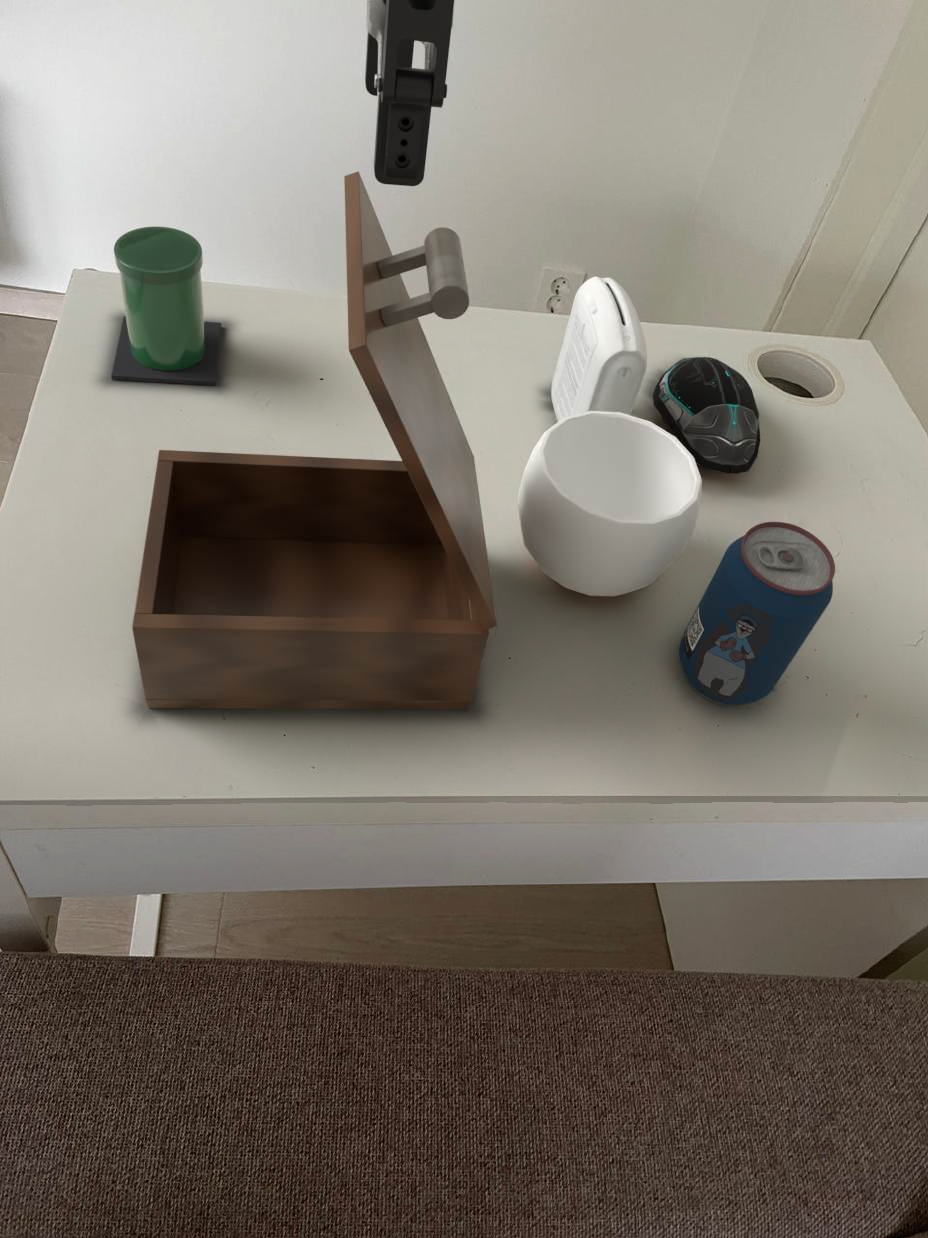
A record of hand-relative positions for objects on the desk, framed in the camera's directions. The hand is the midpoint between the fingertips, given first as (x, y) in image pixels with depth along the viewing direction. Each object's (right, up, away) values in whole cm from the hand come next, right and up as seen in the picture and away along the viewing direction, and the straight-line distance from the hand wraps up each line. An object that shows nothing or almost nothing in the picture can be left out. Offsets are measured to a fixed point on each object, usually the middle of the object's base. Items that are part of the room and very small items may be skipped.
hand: (392, 135), depth 47 cm
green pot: (-21, -1, +35) cm, 41 cm away
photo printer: (+13, -7, +36) cm, 39 cm away
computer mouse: (+24, -7, +39) cm, 46 cm away
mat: (-21, -1, +35) cm, 41 cm away
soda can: (+21, -27, +22) cm, 41 cm away
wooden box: (-7, -23, +20) cm, 31 cm away
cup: (+12, -19, +27) cm, 35 cm away
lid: (+1, -12, +7) cm, 14 cm away
